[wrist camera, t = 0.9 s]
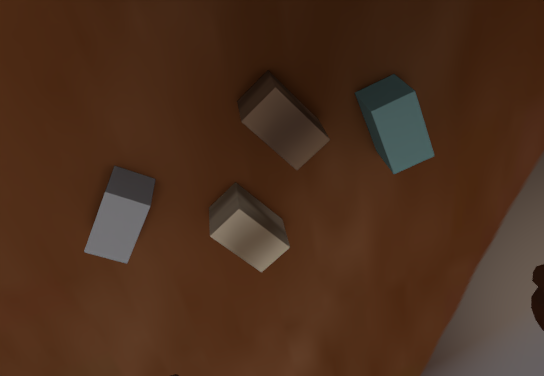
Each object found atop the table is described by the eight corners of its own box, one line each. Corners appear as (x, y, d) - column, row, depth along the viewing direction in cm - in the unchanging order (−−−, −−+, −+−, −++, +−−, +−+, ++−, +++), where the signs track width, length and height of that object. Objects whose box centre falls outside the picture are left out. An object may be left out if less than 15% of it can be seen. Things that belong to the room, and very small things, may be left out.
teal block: (354, 92, 39) (371, 111, 35) (393, 73, 38) (415, 90, 35) (376, 150, 42) (393, 174, 38) (412, 133, 41) (434, 155, 38)
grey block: (114, 165, 39) (105, 191, 35) (155, 178, 40) (150, 205, 36) (95, 221, 42) (83, 252, 38) (133, 232, 43) (127, 263, 39)
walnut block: (237, 101, 38) (241, 121, 34) (267, 69, 37) (275, 87, 33) (287, 146, 40) (296, 170, 37) (317, 118, 40) (330, 139, 36)
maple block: (209, 207, 42) (209, 236, 39) (235, 181, 42) (239, 208, 38) (256, 241, 45) (261, 272, 41) (282, 218, 44) (289, 247, 40)
